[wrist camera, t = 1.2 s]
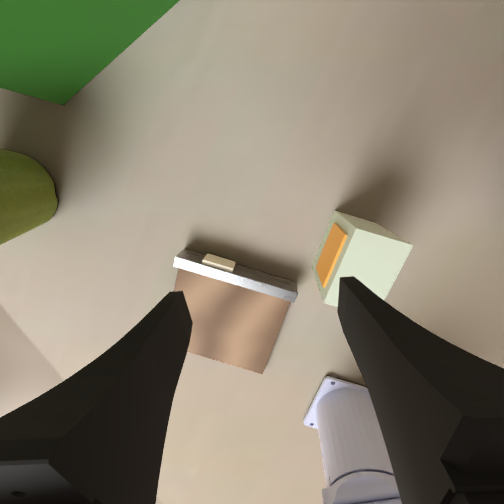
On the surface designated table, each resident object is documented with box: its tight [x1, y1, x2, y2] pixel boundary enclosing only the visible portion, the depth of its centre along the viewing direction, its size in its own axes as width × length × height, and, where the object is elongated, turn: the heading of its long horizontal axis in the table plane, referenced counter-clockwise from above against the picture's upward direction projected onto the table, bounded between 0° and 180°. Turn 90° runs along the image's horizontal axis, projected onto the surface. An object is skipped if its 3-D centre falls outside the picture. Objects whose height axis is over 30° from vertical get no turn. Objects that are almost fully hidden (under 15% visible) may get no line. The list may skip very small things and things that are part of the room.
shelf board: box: [174, 249, 298, 374], centre depth 27 cm, size 12×12×2 cm
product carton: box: [312, 211, 413, 307], centre depth 21 cm, size 4×6×7 cm
